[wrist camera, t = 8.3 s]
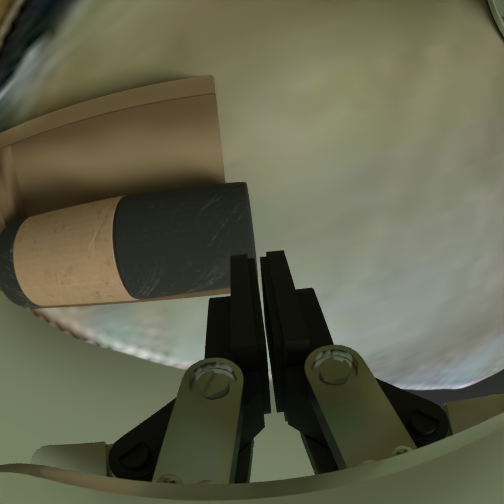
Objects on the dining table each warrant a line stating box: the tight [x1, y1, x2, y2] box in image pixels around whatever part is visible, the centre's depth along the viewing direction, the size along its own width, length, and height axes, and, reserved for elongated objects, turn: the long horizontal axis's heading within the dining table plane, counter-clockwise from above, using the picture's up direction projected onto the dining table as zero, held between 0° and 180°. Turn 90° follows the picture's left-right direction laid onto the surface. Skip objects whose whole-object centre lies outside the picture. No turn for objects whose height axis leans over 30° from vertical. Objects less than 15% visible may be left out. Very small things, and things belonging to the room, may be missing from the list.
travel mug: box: [0, 182, 258, 307], centre depth 22 cm, size 8×8×20 cm
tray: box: [0, 75, 231, 309], centre depth 22 cm, size 16×20×4 cm
